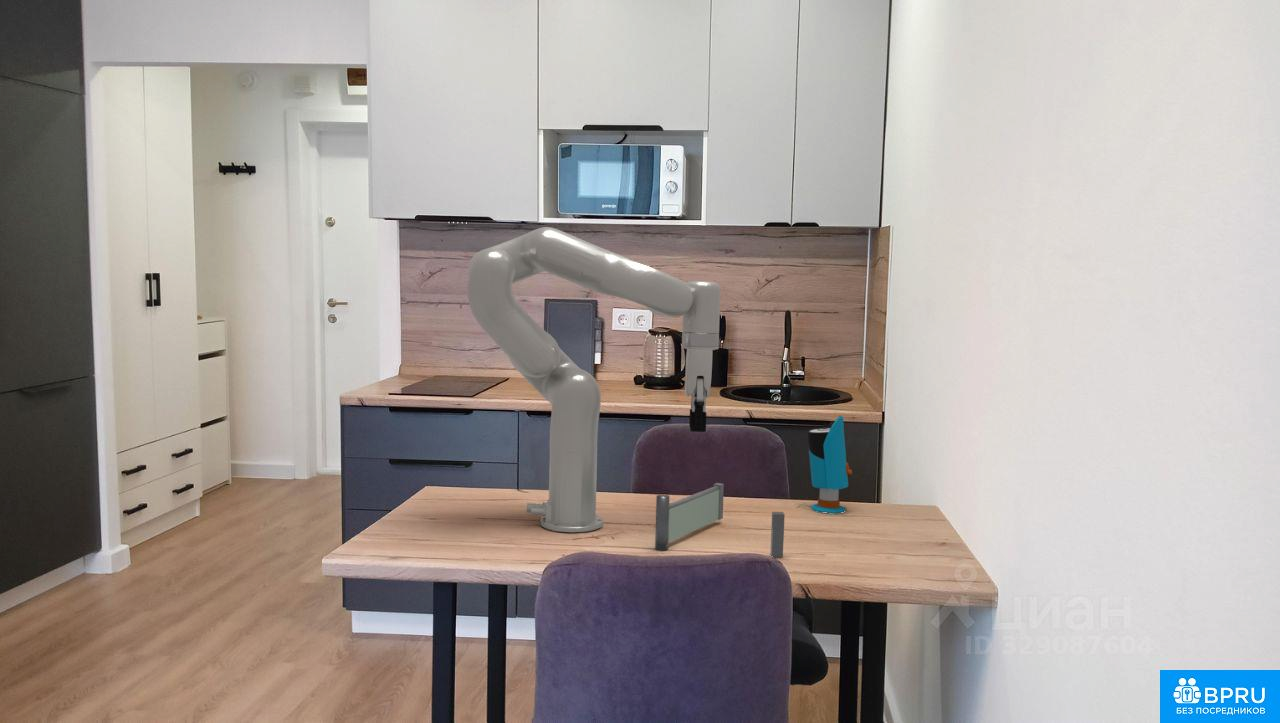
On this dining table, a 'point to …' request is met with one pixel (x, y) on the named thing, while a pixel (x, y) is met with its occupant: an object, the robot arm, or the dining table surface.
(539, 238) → the robot arm
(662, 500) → the gate frame
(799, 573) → the dining table surface
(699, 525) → the gate
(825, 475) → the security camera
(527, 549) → the dining table surface
